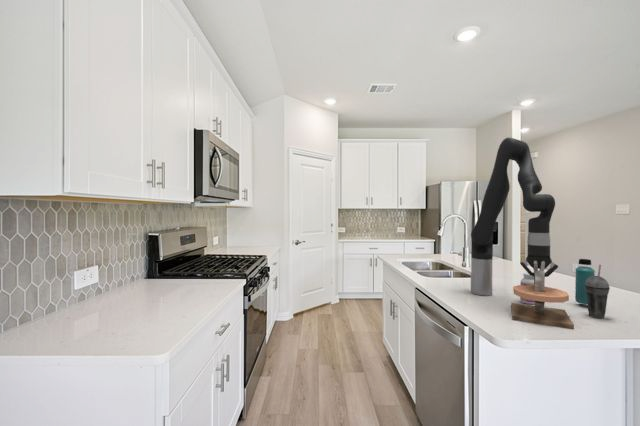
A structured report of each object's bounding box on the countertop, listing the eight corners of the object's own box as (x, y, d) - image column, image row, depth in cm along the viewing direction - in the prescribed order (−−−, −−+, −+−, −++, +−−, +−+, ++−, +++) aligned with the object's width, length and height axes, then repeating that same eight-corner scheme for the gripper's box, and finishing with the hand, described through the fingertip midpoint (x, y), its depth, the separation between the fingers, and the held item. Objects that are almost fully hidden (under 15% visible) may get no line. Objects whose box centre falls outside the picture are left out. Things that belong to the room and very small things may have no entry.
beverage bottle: (598, 308, 128) (599, 260, 127) (580, 307, 129) (581, 260, 129) (588, 304, 134) (589, 258, 134) (571, 303, 136) (571, 257, 135)
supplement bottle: (516, 301, 138) (517, 272, 138) (525, 299, 141) (525, 271, 141) (533, 305, 132) (533, 275, 132) (541, 303, 135) (542, 274, 135)
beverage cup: (579, 313, 122) (579, 263, 122) (595, 312, 123) (596, 262, 123) (597, 320, 115) (597, 266, 115) (614, 319, 116) (615, 266, 115)
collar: (514, 298, 116) (514, 292, 116) (512, 287, 131) (512, 283, 131) (572, 305, 107) (572, 299, 107) (563, 293, 122) (563, 288, 122)
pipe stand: (512, 319, 116) (513, 273, 116) (511, 306, 131) (511, 265, 131) (573, 329, 107) (574, 278, 106) (564, 313, 122) (565, 269, 122)
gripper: (519, 243, 125) (519, 286, 125) (560, 245, 118) (560, 290, 119) (518, 242, 131) (518, 282, 132) (557, 243, 125) (557, 286, 125)
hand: (538, 286), depth 125 cm, fingers closed
